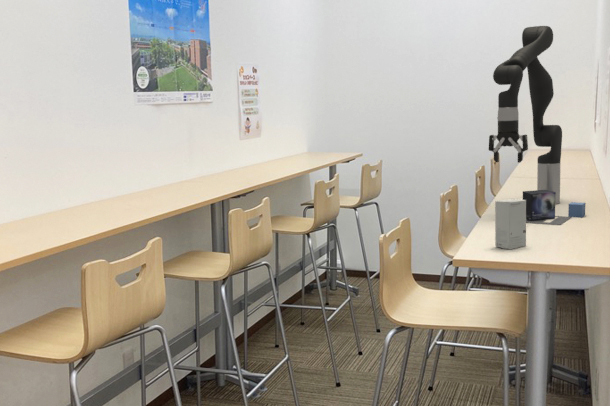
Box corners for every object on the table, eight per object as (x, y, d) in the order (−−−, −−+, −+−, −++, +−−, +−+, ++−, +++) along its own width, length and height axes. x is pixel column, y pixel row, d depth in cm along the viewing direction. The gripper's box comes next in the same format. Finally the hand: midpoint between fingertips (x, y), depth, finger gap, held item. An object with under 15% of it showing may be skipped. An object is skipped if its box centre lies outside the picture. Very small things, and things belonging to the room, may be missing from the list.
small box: (531, 221, 259) (531, 193, 257) (521, 218, 265) (521, 191, 263) (556, 219, 261) (556, 191, 260) (545, 216, 268) (546, 189, 266)
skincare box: (509, 250, 215) (509, 202, 213) (494, 247, 220) (494, 200, 218) (527, 245, 220) (527, 199, 218) (511, 243, 225) (511, 197, 223)
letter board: (518, 214, 276) (518, 213, 276) (571, 217, 264) (571, 216, 264) (505, 221, 262) (505, 220, 262) (560, 225, 251) (560, 224, 251)
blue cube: (571, 214, 270) (571, 202, 269) (585, 215, 267) (585, 202, 267) (568, 217, 266) (568, 204, 265) (582, 217, 263) (582, 204, 263)
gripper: (530, 118, 262) (529, 161, 265) (492, 119, 270) (492, 161, 273) (524, 119, 256) (524, 163, 259) (486, 120, 264) (486, 163, 266)
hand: (508, 162), depth 266 cm, fingers open, 8 cm apart
